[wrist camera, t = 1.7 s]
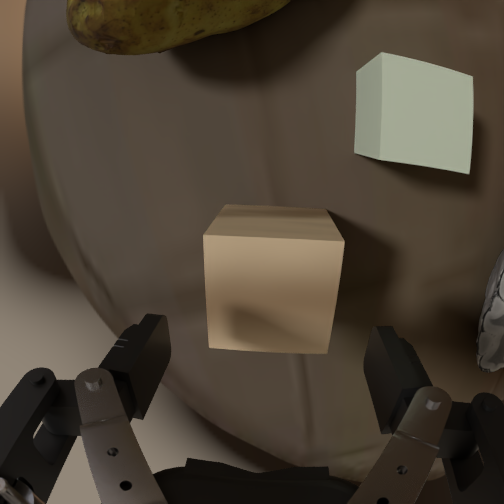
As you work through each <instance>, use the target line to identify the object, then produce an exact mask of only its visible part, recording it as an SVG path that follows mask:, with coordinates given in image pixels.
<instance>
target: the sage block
mask: <svg viewBox="0 0 504 504" xmlns="http://www.w3.org/2000/svg"><path fill="white" fill-rule="evenodd" d="M472 133H473V77H472V76H469V75H466V74H463V73H460V72H457V71H454V70H451V69H448V68H444V67H441V66H437V65H434V64H430V63H426V62H423V61H419V60H415V59H410V58H406V57H402V56H397V55H392V54H387V53H382V52H381V53H380V54H379V55H377V56H376V57H375V58H374V59H372V60H371V61H370V62H368V63H367V64H366V65H364V66H363V67H362V68H361V69H359V70H358V71H357V72H356V126H355V147H354V153H356V154H360V155H364V156H367V157H371V158H374V159H378V160H385V161H392V162H400V163H407V164H414V165H420V166H427V167H433V168H439V169H444V170H450V171H455V172H461V173H466V174H469V172H470V162H471V150H472Z"/></svg>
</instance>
